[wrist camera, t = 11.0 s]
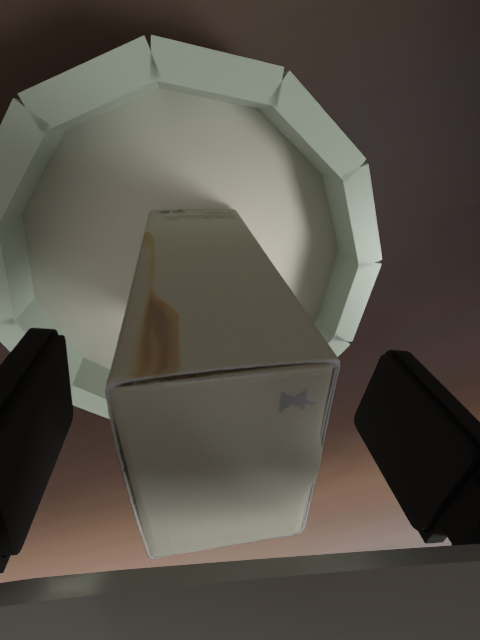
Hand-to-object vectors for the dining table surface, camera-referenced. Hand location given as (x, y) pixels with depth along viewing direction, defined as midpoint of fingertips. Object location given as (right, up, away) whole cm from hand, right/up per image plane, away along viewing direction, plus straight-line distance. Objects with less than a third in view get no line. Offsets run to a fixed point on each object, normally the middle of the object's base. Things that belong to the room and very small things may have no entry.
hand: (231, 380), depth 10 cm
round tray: (-2, +5, +8) cm, 10 cm away
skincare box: (-2, +5, +8) cm, 9 cm away
